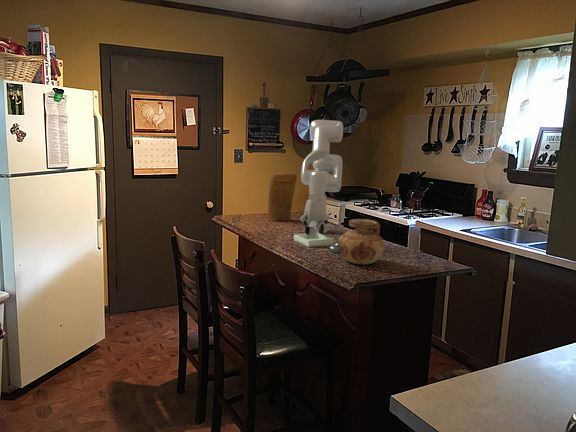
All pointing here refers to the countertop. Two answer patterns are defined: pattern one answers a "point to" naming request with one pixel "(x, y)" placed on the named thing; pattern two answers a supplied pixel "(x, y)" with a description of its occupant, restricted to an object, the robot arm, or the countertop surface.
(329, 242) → the tray
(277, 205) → the pancake mix bag
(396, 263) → the countertop surface
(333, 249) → the pot lid
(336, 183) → the robot arm
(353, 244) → the clay pot
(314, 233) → the lighter
